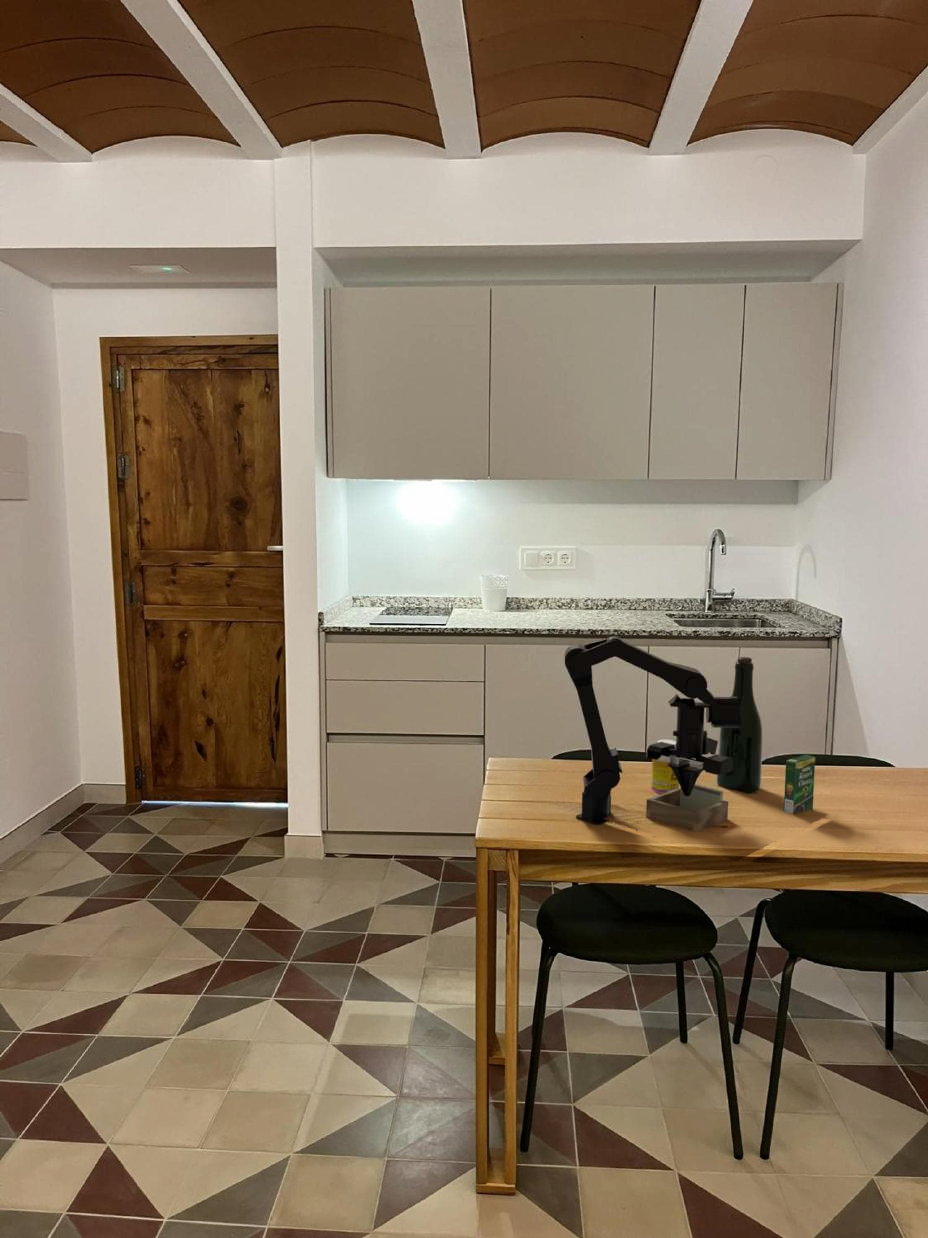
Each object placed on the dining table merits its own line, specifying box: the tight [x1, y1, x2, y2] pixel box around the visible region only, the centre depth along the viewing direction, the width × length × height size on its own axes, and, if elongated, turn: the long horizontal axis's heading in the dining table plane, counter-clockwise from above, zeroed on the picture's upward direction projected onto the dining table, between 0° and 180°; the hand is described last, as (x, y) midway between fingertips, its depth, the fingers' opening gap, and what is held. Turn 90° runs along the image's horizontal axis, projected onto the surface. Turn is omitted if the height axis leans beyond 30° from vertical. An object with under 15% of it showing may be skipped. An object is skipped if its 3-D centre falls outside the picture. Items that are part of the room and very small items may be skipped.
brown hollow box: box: [645, 787, 729, 833], centre depth 201 cm, size 12×13×5 cm
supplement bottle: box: [650, 739, 680, 794], centre depth 220 cm, size 7×7×13 cm
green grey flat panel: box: [679, 783, 724, 812], centre depth 204 cm, size 1×10×6 cm, turn 43°
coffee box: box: [783, 754, 816, 815], centre depth 206 cm, size 8×3×13 cm, turn 127°
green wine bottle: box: [716, 656, 763, 795], centre depth 224 cm, size 10×10×33 cm
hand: (687, 795), depth 200 cm, fingers closed
